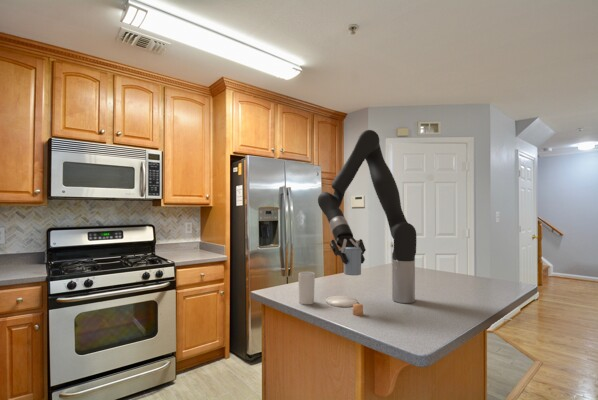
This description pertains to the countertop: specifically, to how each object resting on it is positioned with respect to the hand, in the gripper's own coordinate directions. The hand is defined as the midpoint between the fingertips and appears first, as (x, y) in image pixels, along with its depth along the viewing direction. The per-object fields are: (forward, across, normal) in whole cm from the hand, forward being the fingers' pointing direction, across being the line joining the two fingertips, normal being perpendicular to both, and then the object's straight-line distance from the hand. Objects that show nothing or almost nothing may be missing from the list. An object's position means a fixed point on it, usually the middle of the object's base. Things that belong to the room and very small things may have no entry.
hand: (354, 262), depth 123 cm
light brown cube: (+15, 0, +11) cm, 19 cm away
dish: (+4, +1, +22) cm, 22 cm away
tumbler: (+2, 0, +4) cm, 5 cm away
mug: (0, -12, +26) cm, 29 cm away
